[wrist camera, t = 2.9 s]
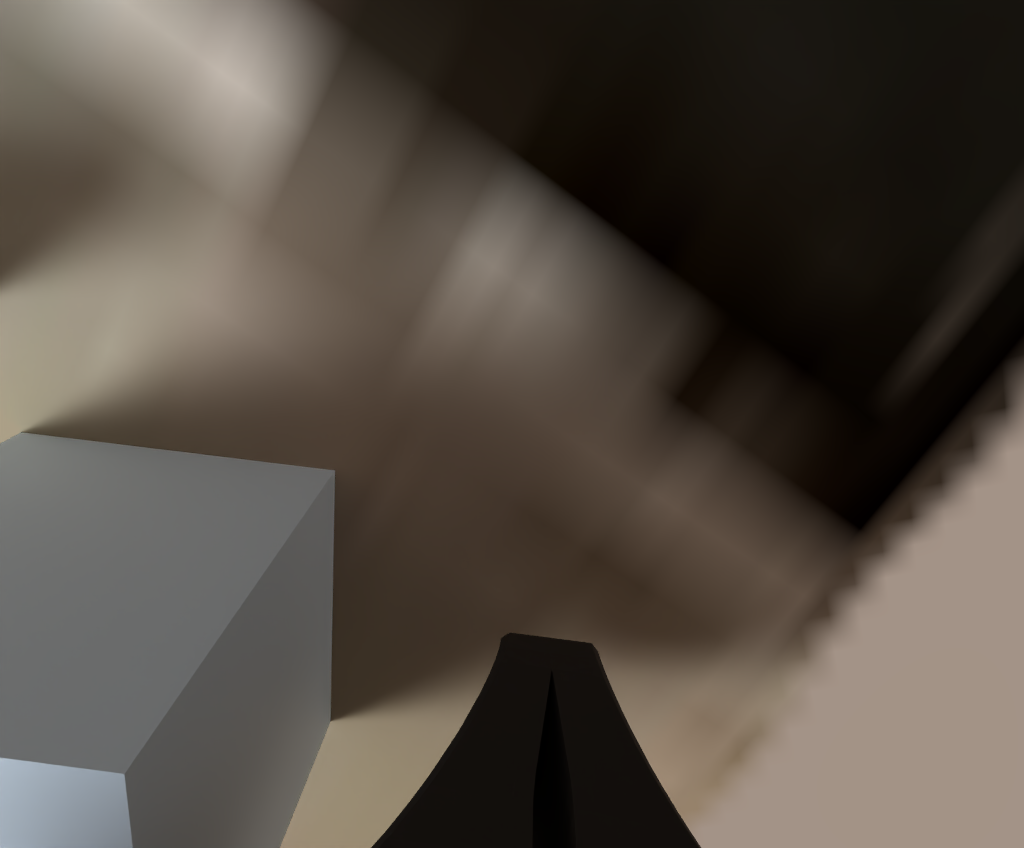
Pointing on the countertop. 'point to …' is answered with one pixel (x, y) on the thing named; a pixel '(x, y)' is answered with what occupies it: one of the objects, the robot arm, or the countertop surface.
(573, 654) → the robot arm
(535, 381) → the countertop surface
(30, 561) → the block
